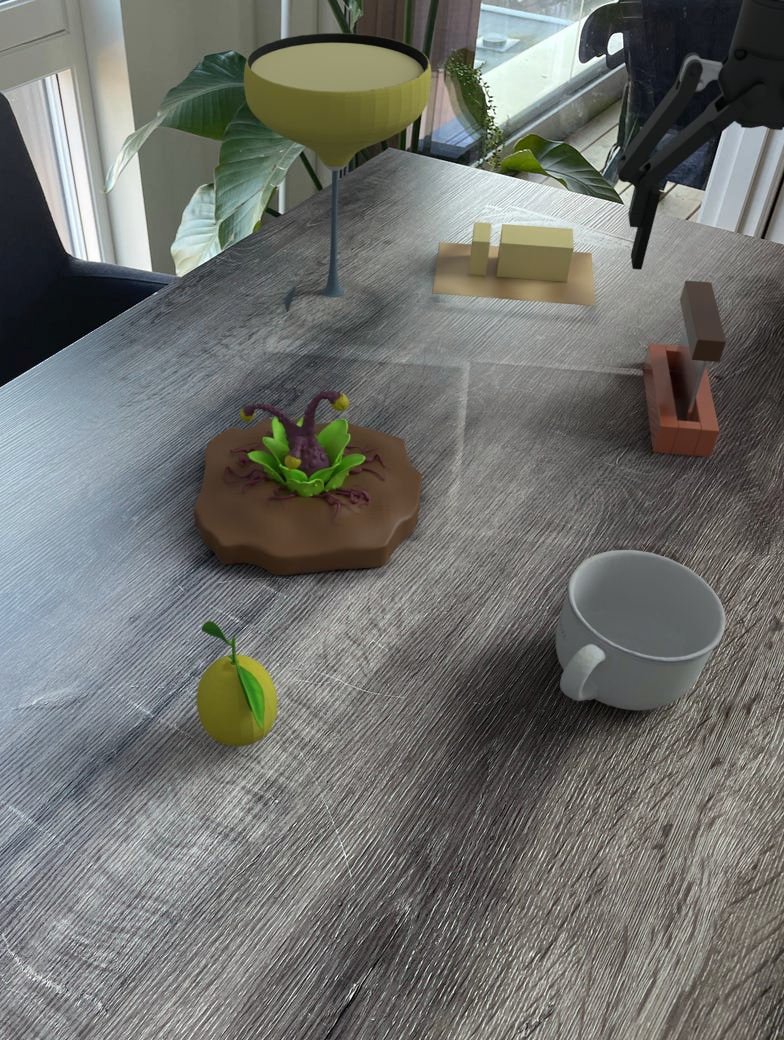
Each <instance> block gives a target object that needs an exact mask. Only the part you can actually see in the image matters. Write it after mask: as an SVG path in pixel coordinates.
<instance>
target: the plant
mask: <svg viewBox="0 0 784 1040" xmlns="http://www.w3.org/2000/svg"><path fill="white" fill-rule="evenodd" d="M322 400H328V401H329V404H330V406H331V408H332V409H334V410H335V411H337V412H345V411H346V410H348V408H349V406H350V399H349V398H348V397H347V395H345V393H343V392H341V391H337V390H330V389H328V390H321V391H319V393H317V394H316V395H315V396H314V397H313V398H312V399H311V401H310V403H308V404H307V408H306V409H305V410H304V411H303V417H301V418H299V417H297V418H294V419H291V416H288V413H284V412H283V410H282V409H281V410H280V409H279V407H275V406H273V405H271V404H270V403H267V404H266V403H265V402H263V403H261V402H259V403H258V402H257V403H256V404H255V403H253V404H247V405H244V406H243V407H242V408H240V411H239V417H240V419H241V420H242V421H243V422H245V423H250V422H251V421H252V420H253V419H254V418H255V416H256V410H258V411H261V410H262V411H263V412H268V413H269V414H270V415H273V416H274V417H273V418H264V419H262V420H260V421H259V422H257V423H256V424H254V425H252V426H250V427H248V428H237V427H230V428H227V429H226V430H224V431H222V432H220V433H219V434H217V435H216V436H214V437H213V438H212V439H211V440H210V441H209V442H208V443H207V445H206V447H205V450H204V459H203V463H204V464H203V465H204V473H203V476H202V477H203V478H202V482H201V488H200V491H199V492H200V493H199V496H198V498H197V500H196V502H195V503H194V505H193V509H192V512H193V523H194V526H195V528H196V530H198V532H199V534H200V538H201V540H202V542H203V544H204V545H205V546H206V547H207V548H208V549H209V550H210V551H212V552H213V553H214V554H215V555H216V557H217V558H218V560H219V561H220V563H221V564H222V565H224V566H227V565H234V564H250V565H253V566H257V567H260V568H262V569H264V570H266V571H267V572H268V573H270V574H272V575H276V576H292V575H298V574H309V573H320V572H328V571H329V572H330V571H337V570H339V571H340V570H355V569H368V568H369V569H370V568H379V567H382V566H385V565H387V562H388V561H389V560H390V558H391V556H392V555H393V553H394V552H395V550H396V549H397V547H399V546H400V544H401V543H402V542H404V541H405V540H407V539H408V538H409V537H410V536H411V535H412V533H413V532H414V530H415V528H416V526H417V523H418V519H419V513H420V503H421V502H420V501H421V493H422V484H423V475H422V473H421V471H419V470H418V469H417V468H416V467H415V466H414V465H413V464H412V463H411V460H410V459H409V456H408V455H409V454H408V451H407V448H406V444H405V443H406V442H405V439H404V438H402V437H398V436H395V435H391V434H389V433H387V432H383V431H380V430H376V429H372V428H370V427H369V428H368V427H365V426H362V425H358V424H355V423H351V422H348V421H347V419H345V418H340V419H337V420H334V421H332V422H321V423H316V420H315V419H316V418H315V416H316V412H317V409H318V408H319V404H320V403H321V402H322Z"/></svg>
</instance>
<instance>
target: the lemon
mask: <svg viewBox="0 0 784 1040" xmlns="http://www.w3.org/2000/svg"><path fill="white" fill-rule="evenodd" d="M201 631H202V632H203V633H206V634H207V635H210V636H212V637H215V638H217V639H221V640H222V641H223V642H224V643H226V644H227V645H228V646H231V654H229V655H224V656H222V657H220V658H218V659H216V660H215V661H213V662H212V663H211V664H210V665H209V666H208V667H207V668H206V669H205V671H204V672H203V674H202V676H201V678H200V679H199V682H198V686H197V692H196V693H197V695H196V710H197V714H198V718H199V722H200V725H201V726H202V727H203V729H204V730H205V732H206V733H207V734H208V736H209V737H210V738H212V740H215V741H216V742H218V743H219V744H222V745H227V746H231V747H245V746H249V745H253V744H255V743H257V742H259V741H262V740H263V739H264V737H266V735H268V733H269V732H270V731H271V730H272V727H273V726H274V723H275V720H276V718H277V716H278V693H277V689H276V686H275V683H274V682H273V681H274V680H273V679H272V676H271V674H270V672H268V671H267V669H266V668H265V667H264V666H263V665H262V664H261V663H260V662H259V661H258V660H256V659H254V658H252V657H250V656H248V655H243V654H239V653H238V654H237V652H236V651H237V650H236V637H235V636H234V637H232V638H231V640H228V639H227V638H226V636H225V634H224V632H223V631H222V629H221V628H220V626H219V625H218V624H217V623H215V622H214V621H213V620H209V621H205V623H203V624H202V626H201Z"/></svg>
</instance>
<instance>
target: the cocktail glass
mask: <svg viewBox="0 0 784 1040" xmlns="http://www.w3.org/2000/svg"><path fill="white" fill-rule="evenodd" d="M431 67H432V66H431V63H430V60H429V58H428V56H426V54H425V53H424V52H422V51H421V50H420V49H418V48H416V47H415V46H412V45H410V44H409V43H405V42H403V41H401V40H400V41H399V40H395V39H392V38H388V37H382V36H378V35H370V34H362V33H361V34H360V33H347V32H324V33H309V34H301V35H294V36H289V37H284V38H281V39H276V40H273V41H270V42H267V43H265V44H263V45H261V46H259V47H256V49H254V50H252V51H251V52H250V53H249V55H248V56H247V58H246V61H245V64H244V68H243V88H244V95H245V99H246V103H247V106H248V108H249V109H250V111H251V113H252V114H253V115H254V116H255V118H256V119H257V120H258V121H259V122H261V123H262V124H263V125H264V126H265V127H267V129H269V130H271V131H272V132H274V133H275V134H277V135H279V136H281V137H283V138H284V139H286V140H289V141H291V142H293V143H296V144H298V145H301V146H303V147H305V148H308V149H310V150H311V151H313V152H314V153H315V154H316V155H317V157H318V158H319V160H320V162H321V163H322V164H323V166H324V167H325V168H326V169H327V170H330V171H331V217H330V218H331V221H330V246H329V247H330V249H329V267H328V275H327V281H326V285H325V287H324V288H323V289H321V294H322V296H323V297H326V298H330V299H332V298H334V299H335V298H340V297H342V296H343V295H344V294H345V291H344V289H342V288H341V287H340V281H339V275H338V199H339V197H338V196H339V195H338V194H339V171H341V170H343V169H345V167H347V165H348V164H350V162H351V160H352V159H353V157H355V155H356V154H357V153H358V152H360V151H362V150H363V149H366V148H368V147H370V146H374V145H376V144H378V143H381V142H384V141H387V140H388V139H390V138H392V137H395V136H396V135H398V134H399V133H401V132H404V130H406V129H407V128H408V127H410V126H411V125H412V124H413V123H414V122H416V120H417V119H419V117H420V116H421V115H422V114H423V112H424V111H425V109H426V107H427V105H428V102H429V98H430V92H431V88H432V87H431V85H432V68H431ZM296 290H297V286H296V287H294V288H292V289H291V290H290V291H289V292H288V293H287V294H286V296H285V298H284V307H285V309H286V312H289V311H290V307H291V304H292V302H293V299H294V295H295V293H296Z"/></svg>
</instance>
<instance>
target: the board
mask: <svg viewBox="0 0 784 1040" xmlns="http://www.w3.org/2000/svg"><path fill="white" fill-rule="evenodd" d="M471 245H472V243H461V242H460V243H457V242H445V241H439V245H438V251H437V258H436V265H435V271H434V278H433V285H432V292H431V294H435V295H446V296H459V297H460V296H462V297H475V298H485V299H486V298H488V299H500V300H513V301H525V302H526V301H527V302H538V303H550V304H551V303H552V304H565V305H576V306H577V305H578V306H589V307H590V306H591V307H596V306H597V305H596V292H595V280H594V279H595V278H594V268H593V253H592V252H584V251H583V252H582V251H573V255H572V260H571V266H570V271H569V276H568V281H567V282H559V281H546V280H532V279H519V278H506V277H496V275H497V259H498V251H499V245H490V248H489V256H488V263H487V271H486V276H481V275H469V274H468V273H469V263H470V253H471Z"/></svg>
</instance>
